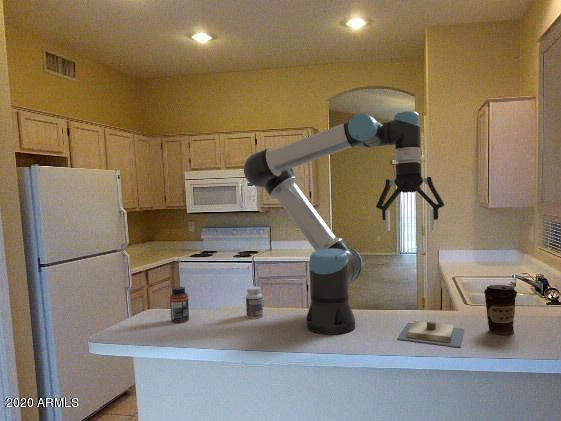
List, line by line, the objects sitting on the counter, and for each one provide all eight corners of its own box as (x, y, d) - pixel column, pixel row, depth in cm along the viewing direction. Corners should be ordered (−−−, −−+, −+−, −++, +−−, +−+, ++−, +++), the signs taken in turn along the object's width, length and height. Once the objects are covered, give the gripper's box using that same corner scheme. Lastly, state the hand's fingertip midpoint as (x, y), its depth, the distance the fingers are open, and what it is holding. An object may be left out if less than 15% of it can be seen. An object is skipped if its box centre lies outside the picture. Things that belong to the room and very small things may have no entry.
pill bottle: (248, 314, 141) (247, 286, 141) (264, 314, 140) (263, 286, 140) (245, 319, 135) (244, 289, 135) (261, 318, 135) (260, 289, 135)
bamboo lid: (407, 336, 112) (407, 326, 111) (414, 325, 121) (414, 315, 121) (450, 342, 106) (450, 330, 106) (454, 330, 116) (453, 319, 116)
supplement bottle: (175, 318, 139) (174, 285, 139) (192, 318, 138) (190, 285, 138) (167, 323, 133) (166, 289, 133) (184, 323, 132) (183, 289, 132)
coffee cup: (523, 337, 109) (522, 290, 108) (490, 336, 110) (489, 289, 110) (511, 327, 117) (510, 283, 117) (481, 327, 119) (480, 283, 119)
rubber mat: (397, 339, 111) (397, 338, 110) (407, 323, 125) (407, 322, 125) (460, 347, 103) (460, 346, 103) (464, 329, 117) (464, 328, 117)
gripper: (365, 164, 128) (367, 231, 128) (450, 158, 116) (452, 231, 116) (371, 166, 134) (373, 229, 135) (452, 160, 123) (454, 229, 123)
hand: (409, 230), depth 125 cm, fingers open, 13 cm apart
